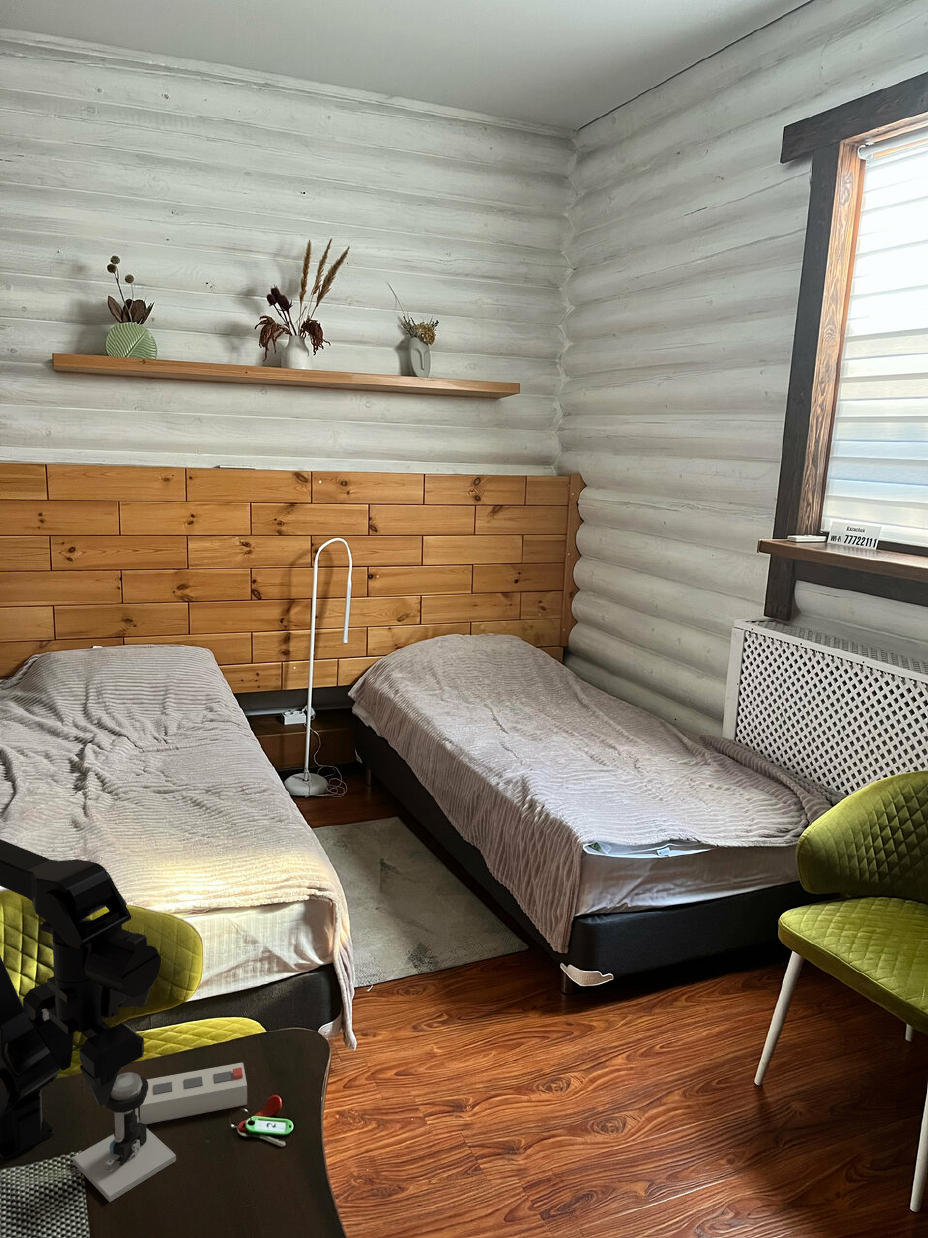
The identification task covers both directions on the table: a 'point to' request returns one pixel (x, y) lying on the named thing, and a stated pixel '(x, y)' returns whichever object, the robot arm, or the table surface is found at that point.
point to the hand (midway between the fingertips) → (84, 1085)
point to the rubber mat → (127, 1175)
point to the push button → (127, 1117)
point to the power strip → (194, 1093)
